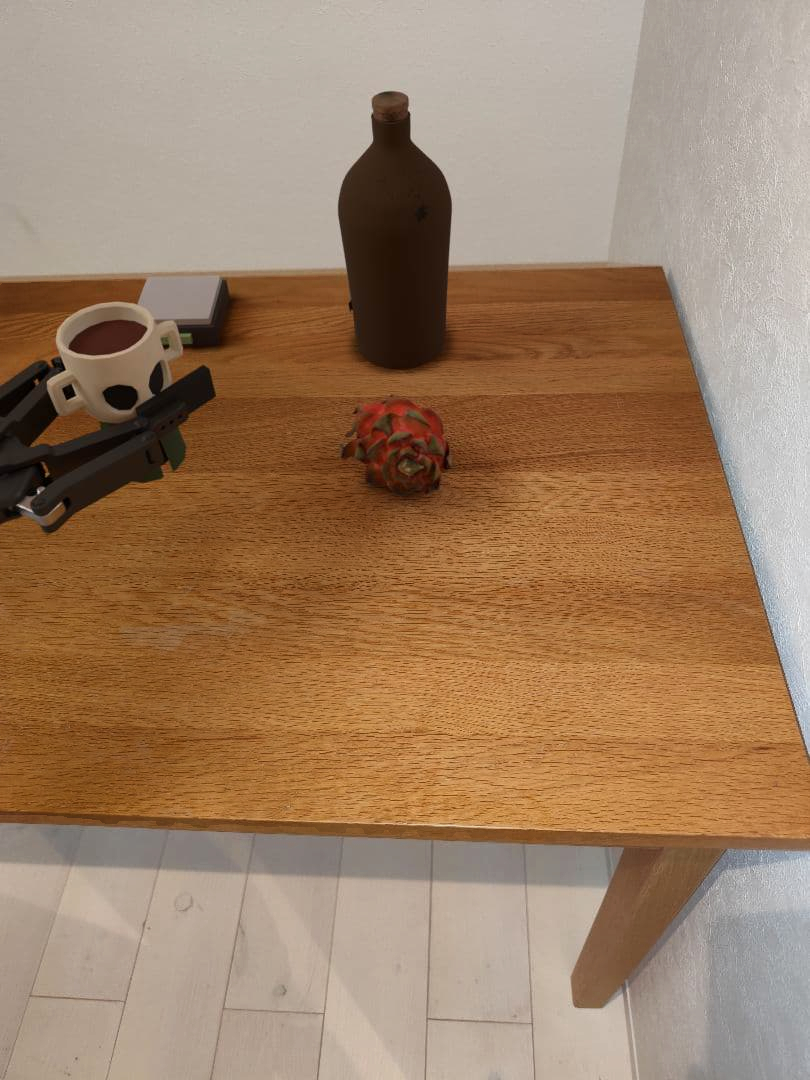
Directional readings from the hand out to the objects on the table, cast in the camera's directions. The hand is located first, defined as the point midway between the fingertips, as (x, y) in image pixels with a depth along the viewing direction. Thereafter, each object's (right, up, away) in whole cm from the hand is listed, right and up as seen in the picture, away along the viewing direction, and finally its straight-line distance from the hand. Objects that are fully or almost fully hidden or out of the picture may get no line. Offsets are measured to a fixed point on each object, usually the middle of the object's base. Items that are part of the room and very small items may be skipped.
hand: (176, 361), depth 71 cm
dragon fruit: (+17, -8, +11) cm, 22 cm away
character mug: (-3, -8, +3) cm, 9 cm away
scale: (-6, +10, +28) cm, 30 cm away
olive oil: (+18, +7, +24) cm, 30 cm away
